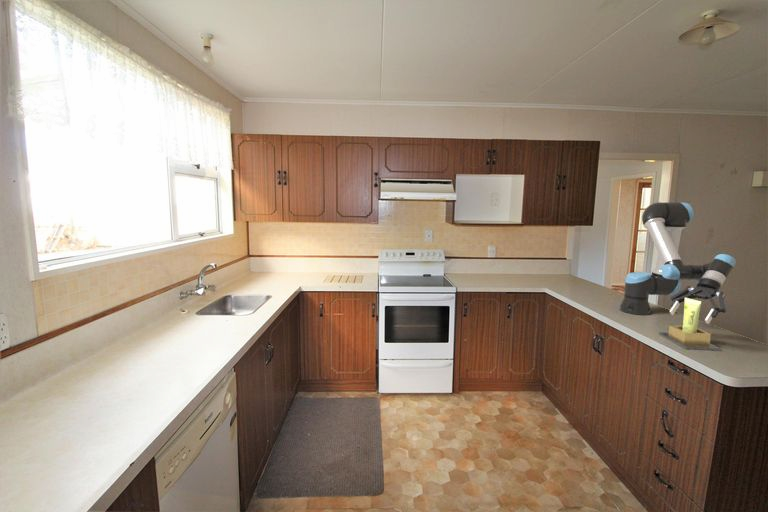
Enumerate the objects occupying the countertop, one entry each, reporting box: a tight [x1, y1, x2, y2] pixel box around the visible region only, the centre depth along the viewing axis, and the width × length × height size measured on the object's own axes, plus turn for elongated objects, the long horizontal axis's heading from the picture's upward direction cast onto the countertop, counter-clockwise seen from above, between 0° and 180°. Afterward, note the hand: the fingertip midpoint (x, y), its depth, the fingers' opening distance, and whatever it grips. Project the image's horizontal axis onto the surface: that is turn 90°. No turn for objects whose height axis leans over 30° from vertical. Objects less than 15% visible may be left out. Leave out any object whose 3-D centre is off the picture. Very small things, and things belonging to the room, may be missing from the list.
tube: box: [682, 298, 702, 333], centre depth 160 cm, size 6×5×20 cm
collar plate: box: [658, 325, 722, 352], centre depth 161 cm, size 18×14×6 cm
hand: (688, 317), depth 158 cm, fingers open, 13 cm apart
